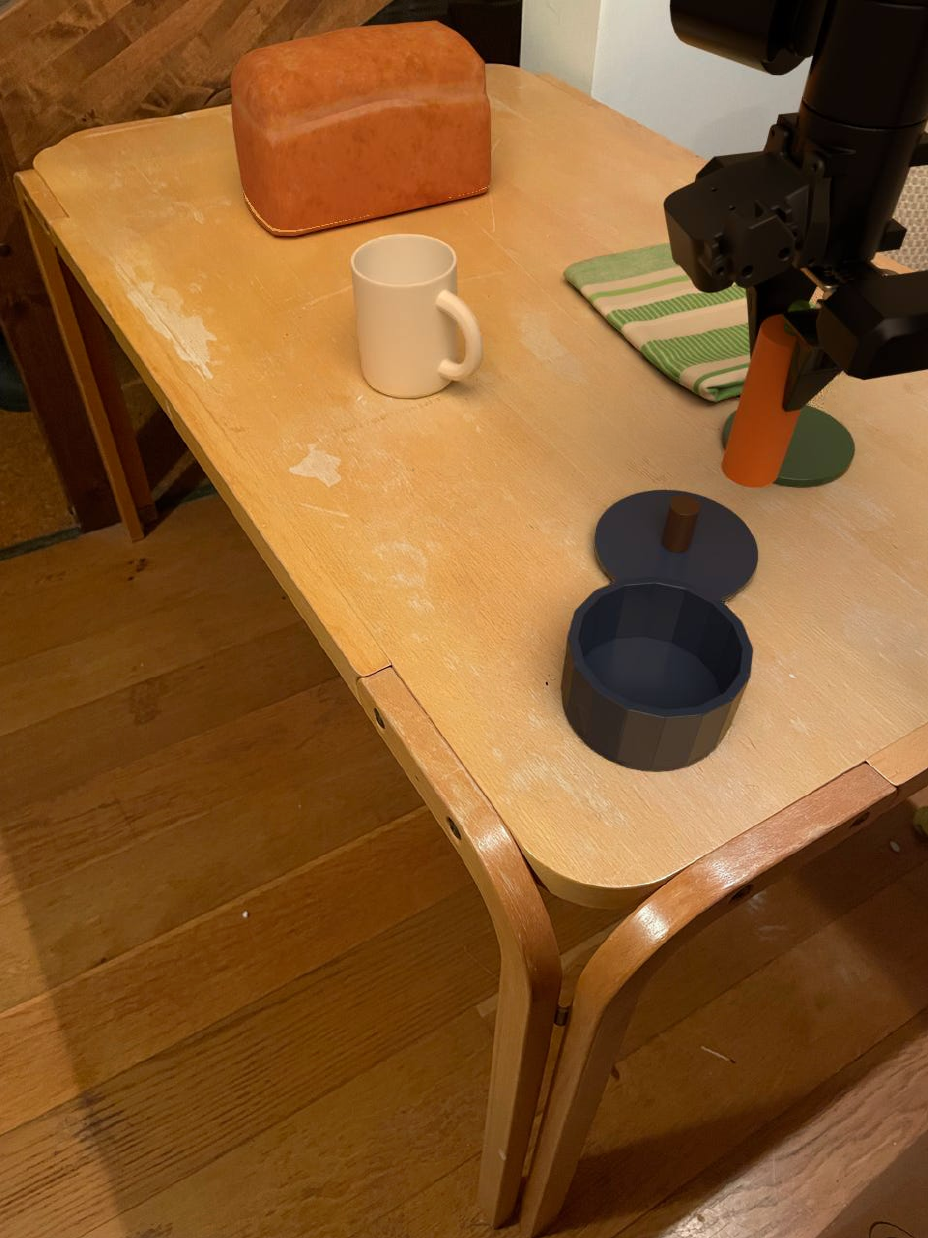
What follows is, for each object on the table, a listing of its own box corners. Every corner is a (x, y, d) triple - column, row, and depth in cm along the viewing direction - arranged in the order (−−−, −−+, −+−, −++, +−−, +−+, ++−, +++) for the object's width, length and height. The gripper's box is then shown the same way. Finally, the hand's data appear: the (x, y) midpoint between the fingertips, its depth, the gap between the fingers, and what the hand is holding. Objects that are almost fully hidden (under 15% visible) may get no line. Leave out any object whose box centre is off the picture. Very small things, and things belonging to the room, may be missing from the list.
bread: (235, 194, 100) (203, 31, 88) (447, 150, 107) (444, -5, 95) (274, 247, 92) (245, 76, 80) (500, 196, 99) (505, 32, 87)
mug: (510, 386, 76) (516, 271, 68) (445, 432, 72) (443, 315, 64) (408, 335, 81) (402, 223, 73) (341, 375, 77) (327, 260, 69)
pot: (737, 654, 57) (758, 596, 53) (721, 790, 50) (744, 736, 46) (579, 620, 59) (587, 562, 54) (545, 748, 52) (551, 692, 48)
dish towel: (717, 246, 91) (722, 220, 89) (868, 366, 77) (879, 338, 75) (561, 282, 87) (564, 255, 85) (692, 416, 73) (699, 388, 71)
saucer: (852, 419, 73) (855, 411, 72) (851, 498, 66) (855, 490, 66) (727, 399, 74) (729, 390, 74) (715, 474, 68) (717, 466, 68)
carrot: (779, 456, 58) (837, 288, 49) (776, 492, 56) (837, 323, 47) (723, 447, 59) (770, 280, 50) (718, 482, 57) (767, 313, 48)
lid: (760, 516, 65) (776, 467, 62) (748, 629, 58) (766, 581, 55) (608, 488, 67) (615, 439, 64) (578, 594, 60) (585, 545, 57)
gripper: (626, 51, 46) (592, 325, 57) (808, 216, 34) (718, 518, 46) (822, 33, 47) (750, 302, 59) (1059, 183, 36) (910, 482, 48)
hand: (774, 390), depth 53 cm, fingers closed on carrot, 3 cm apart
